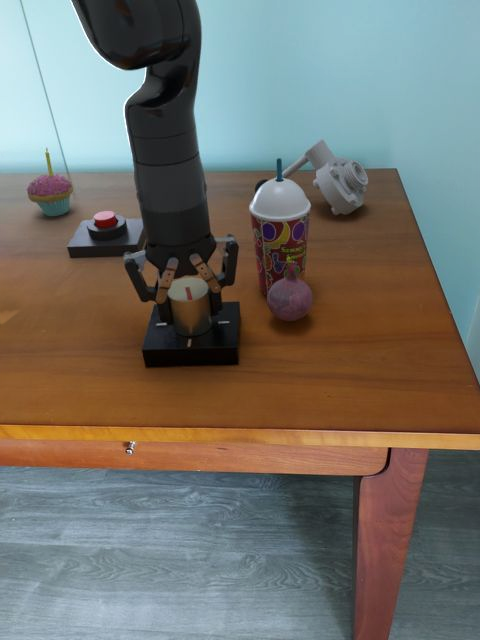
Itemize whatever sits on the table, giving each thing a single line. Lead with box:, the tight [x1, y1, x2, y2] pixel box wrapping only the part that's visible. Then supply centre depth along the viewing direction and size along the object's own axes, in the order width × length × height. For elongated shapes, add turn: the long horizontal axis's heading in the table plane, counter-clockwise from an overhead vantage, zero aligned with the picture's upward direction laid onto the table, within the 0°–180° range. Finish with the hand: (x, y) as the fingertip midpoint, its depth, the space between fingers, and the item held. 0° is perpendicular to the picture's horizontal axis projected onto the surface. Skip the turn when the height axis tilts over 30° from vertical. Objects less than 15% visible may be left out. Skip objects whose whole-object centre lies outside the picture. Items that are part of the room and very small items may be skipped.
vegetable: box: [266, 257, 314, 322], centre depth 71 cm, size 6×6×10 cm
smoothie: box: [248, 157, 312, 297], centre depth 74 cm, size 8×8×20 cm
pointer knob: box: [167, 276, 213, 336], centre depth 68 cm, size 5×5×6 cm
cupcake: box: [26, 146, 74, 217], centre depth 101 cm, size 9×8×12 cm
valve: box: [254, 138, 369, 216], centre depth 101 cm, size 10×20×15 cm
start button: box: [93, 210, 117, 228], centre depth 91 cm, size 4×4×2 cm
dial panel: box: [141, 300, 242, 368], centre depth 70 cm, size 12×10×3 cm
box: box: [66, 213, 146, 259], centre depth 93 cm, size 12×10×4 cm
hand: (191, 316), depth 69 cm, fingers closed on pointer knob, 5 cm apart
